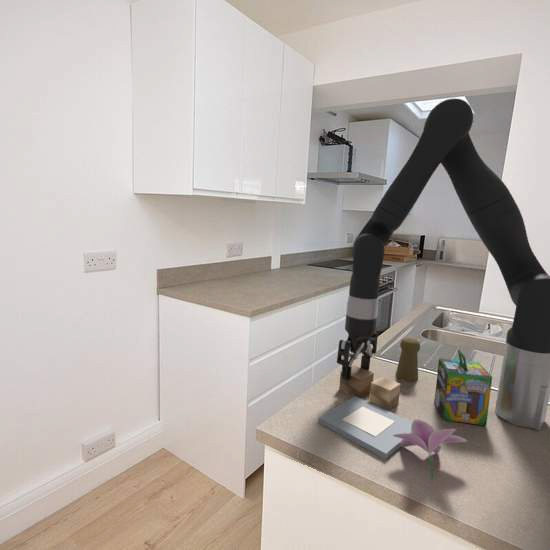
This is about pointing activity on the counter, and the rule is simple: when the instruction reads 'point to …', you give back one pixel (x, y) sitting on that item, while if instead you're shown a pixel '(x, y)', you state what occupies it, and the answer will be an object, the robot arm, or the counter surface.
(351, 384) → the walnut block
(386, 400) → the oak cube
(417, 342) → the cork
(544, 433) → the counter surface
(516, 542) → the counter surface
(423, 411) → the counter surface
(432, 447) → the lily
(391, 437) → the board
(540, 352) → the robot arm
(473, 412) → the chalk box
